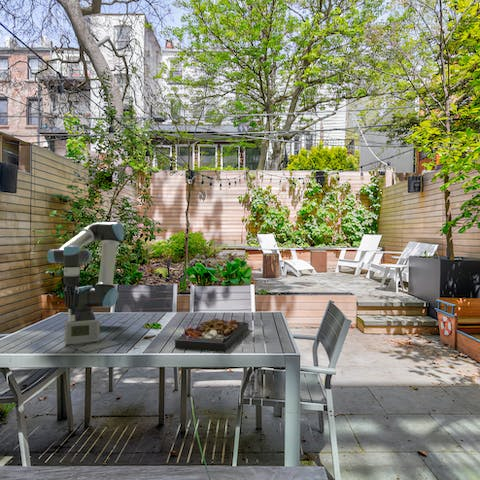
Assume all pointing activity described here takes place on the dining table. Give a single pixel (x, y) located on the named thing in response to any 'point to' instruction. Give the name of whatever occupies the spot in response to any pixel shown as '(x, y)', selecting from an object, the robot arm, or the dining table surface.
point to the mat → (97, 346)
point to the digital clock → (82, 332)
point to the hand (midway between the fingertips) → (71, 321)
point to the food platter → (212, 335)
